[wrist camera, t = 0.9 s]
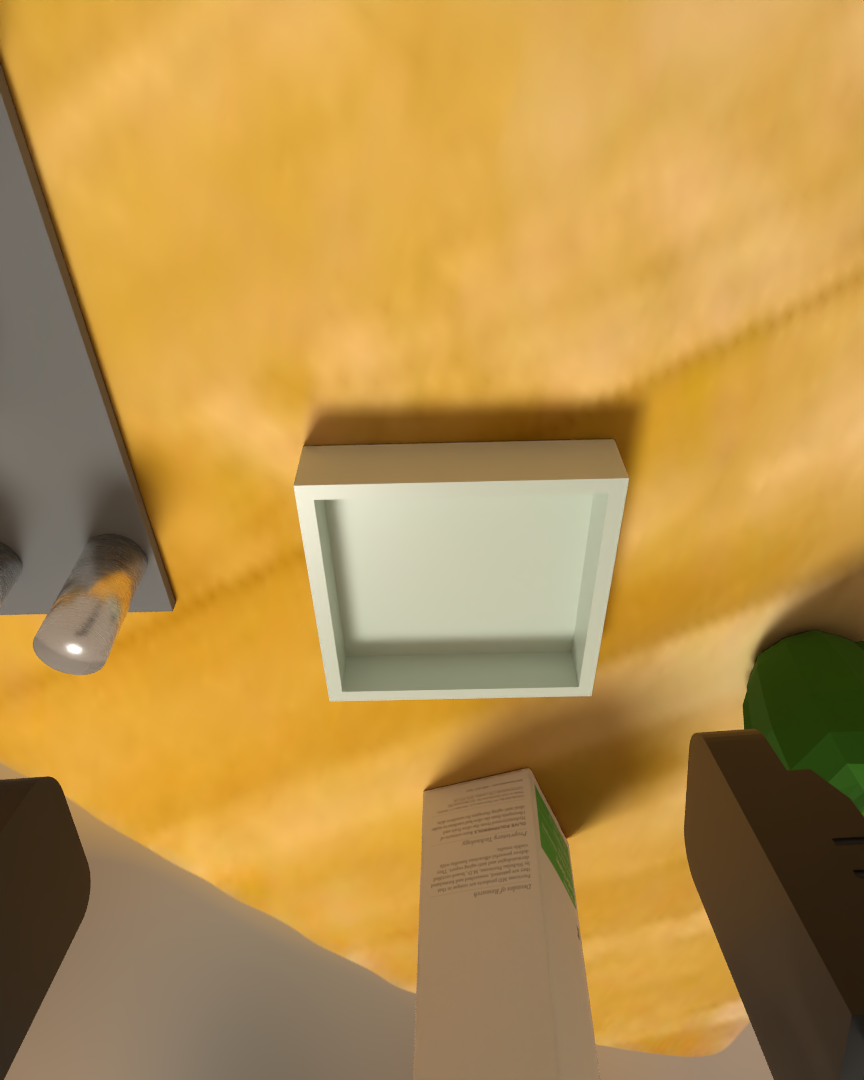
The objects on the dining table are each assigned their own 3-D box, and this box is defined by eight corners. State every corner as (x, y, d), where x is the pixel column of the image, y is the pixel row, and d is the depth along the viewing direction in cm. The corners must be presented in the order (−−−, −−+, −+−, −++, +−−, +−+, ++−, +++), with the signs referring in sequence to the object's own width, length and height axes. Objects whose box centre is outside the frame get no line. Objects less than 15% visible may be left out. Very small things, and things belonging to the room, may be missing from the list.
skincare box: (568, 840, 44) (623, 1182, 32) (463, 861, 46) (477, 1196, 33) (529, 761, 39) (575, 1131, 27) (411, 788, 41) (406, 1150, 29)
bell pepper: (867, 573, 31) (1015, 785, 23) (921, 677, 35) (1062, 887, 27) (681, 657, 34) (756, 869, 26) (750, 744, 38) (834, 949, 31)
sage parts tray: (303, 446, 27) (293, 485, 25) (614, 438, 27) (629, 478, 25) (334, 657, 34) (329, 701, 32) (582, 652, 34) (591, 695, 32)
